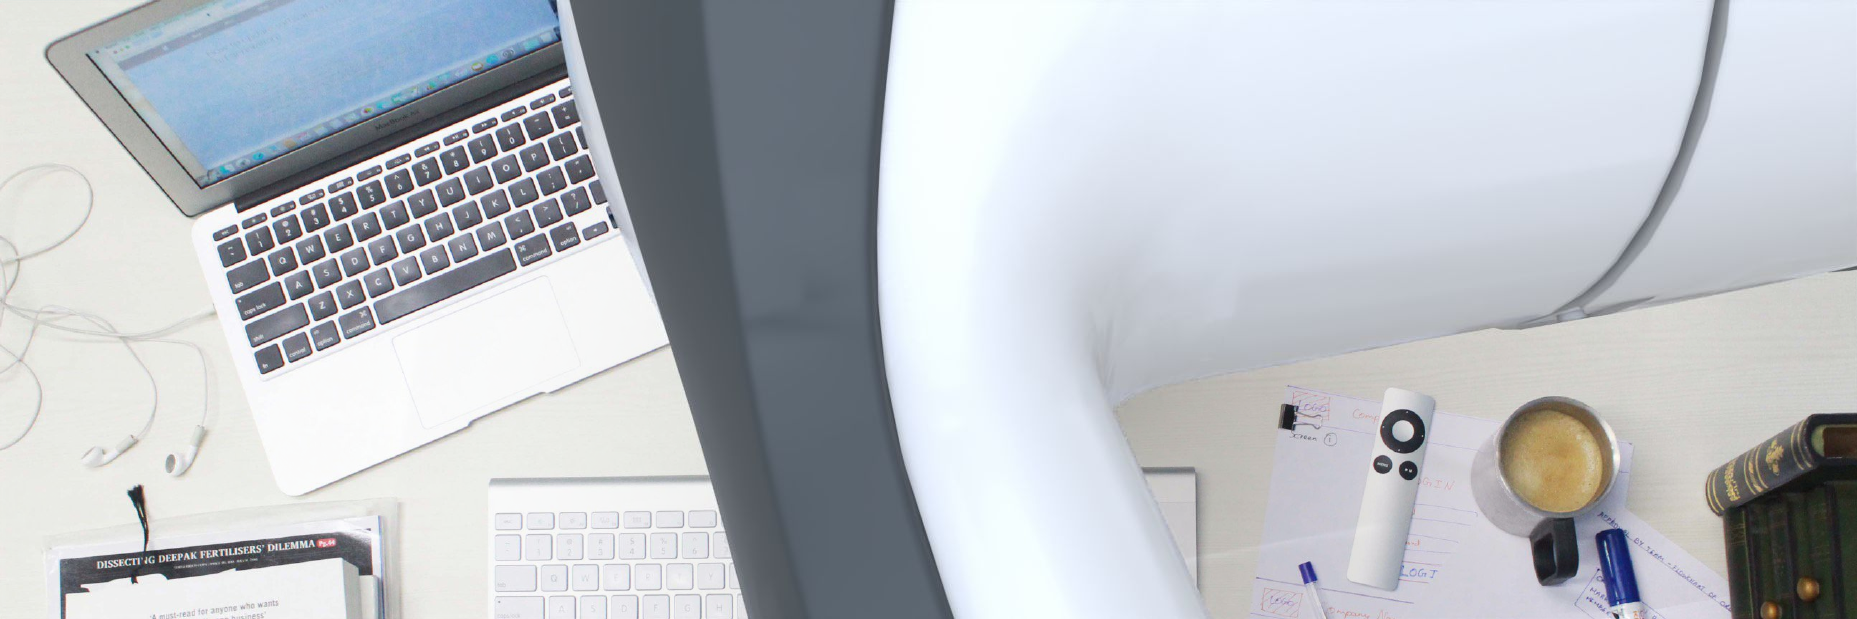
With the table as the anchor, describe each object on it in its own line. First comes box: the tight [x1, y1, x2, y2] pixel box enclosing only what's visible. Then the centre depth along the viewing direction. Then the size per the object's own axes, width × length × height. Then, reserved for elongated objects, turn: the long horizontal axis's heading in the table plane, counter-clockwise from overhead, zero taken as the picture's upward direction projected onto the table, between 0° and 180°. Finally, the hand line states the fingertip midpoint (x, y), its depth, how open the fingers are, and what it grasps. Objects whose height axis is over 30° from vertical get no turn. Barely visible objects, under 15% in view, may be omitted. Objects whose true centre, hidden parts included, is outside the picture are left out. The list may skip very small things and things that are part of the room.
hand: (1130, 62), depth 37 cm, fingers closed
